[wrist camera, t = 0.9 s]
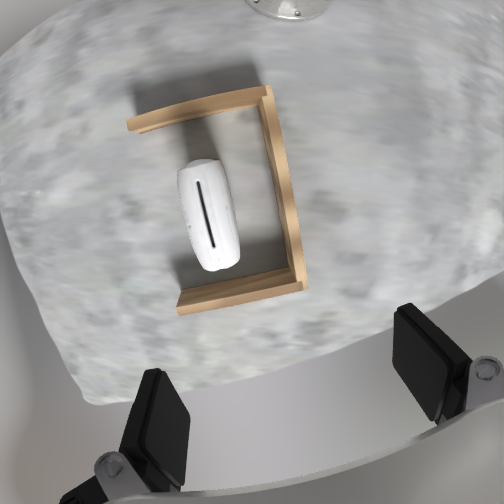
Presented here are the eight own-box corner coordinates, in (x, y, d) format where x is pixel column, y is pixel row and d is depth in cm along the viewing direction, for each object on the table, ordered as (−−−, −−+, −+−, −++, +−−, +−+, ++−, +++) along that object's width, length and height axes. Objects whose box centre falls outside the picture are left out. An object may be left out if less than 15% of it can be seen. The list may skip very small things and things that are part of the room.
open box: (139, 124, 31) (126, 119, 27) (265, 94, 32) (270, 84, 27) (184, 297, 39) (178, 316, 34) (299, 273, 39) (308, 288, 34)
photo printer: (241, 236, 37) (246, 273, 25) (207, 244, 37) (197, 284, 25) (222, 155, 34) (218, 151, 22) (187, 163, 33) (165, 165, 22)
